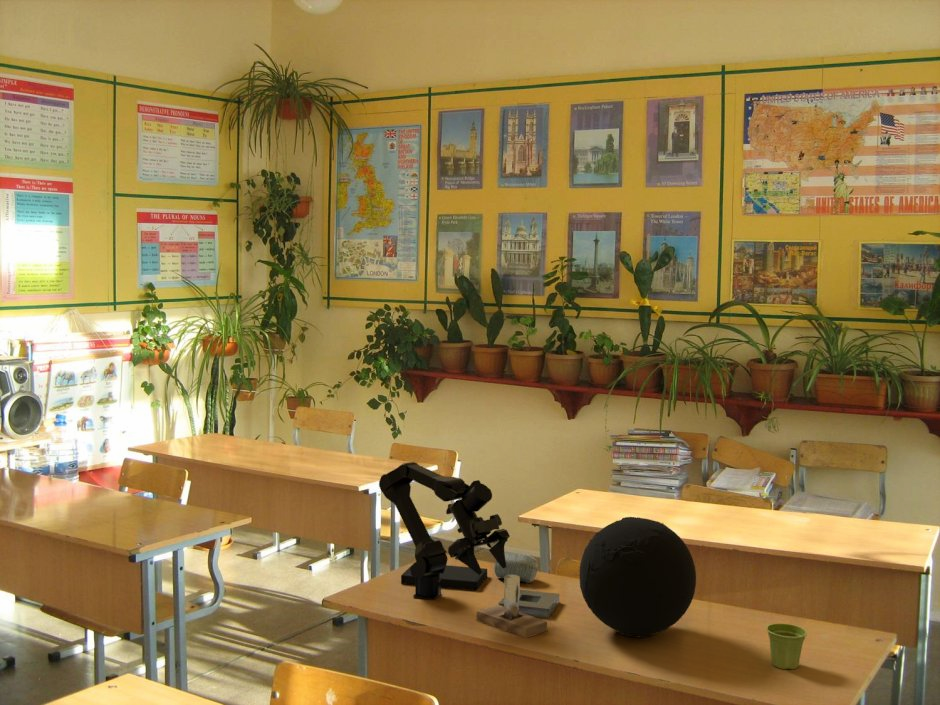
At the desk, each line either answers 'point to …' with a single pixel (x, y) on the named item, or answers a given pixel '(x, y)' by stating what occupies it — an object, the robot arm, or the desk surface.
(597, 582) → the sphere
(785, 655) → the plant pot
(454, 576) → the external hard drive
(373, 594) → the desk surface
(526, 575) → the spool
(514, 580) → the steel axle
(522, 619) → the wooden block with hole
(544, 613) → the block
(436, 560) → the robot arm
